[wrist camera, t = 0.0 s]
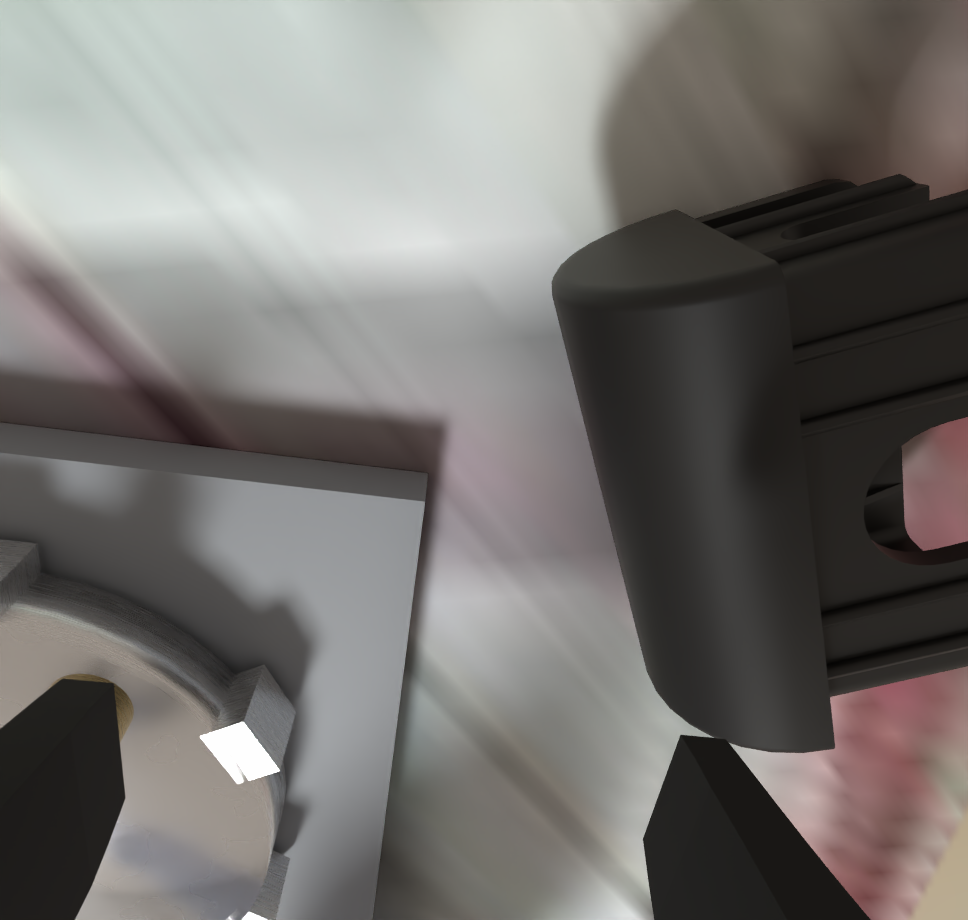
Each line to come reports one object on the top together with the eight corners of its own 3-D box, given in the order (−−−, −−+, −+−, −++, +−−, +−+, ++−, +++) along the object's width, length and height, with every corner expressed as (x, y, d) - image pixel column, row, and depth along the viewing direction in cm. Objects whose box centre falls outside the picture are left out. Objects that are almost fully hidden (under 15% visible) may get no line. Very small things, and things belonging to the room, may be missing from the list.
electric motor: (531, 243, 17) (569, 327, 10) (848, 148, 16) (1087, 177, 10) (620, 588, 21) (683, 788, 15) (872, 525, 20) (1047, 709, 14)
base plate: (369, 937, 28) (364, 983, 26) (-193, 900, 26) (-231, 947, 24) (427, 473, 19) (424, 503, 17) (-412, 373, 17) (-492, 398, 16)
